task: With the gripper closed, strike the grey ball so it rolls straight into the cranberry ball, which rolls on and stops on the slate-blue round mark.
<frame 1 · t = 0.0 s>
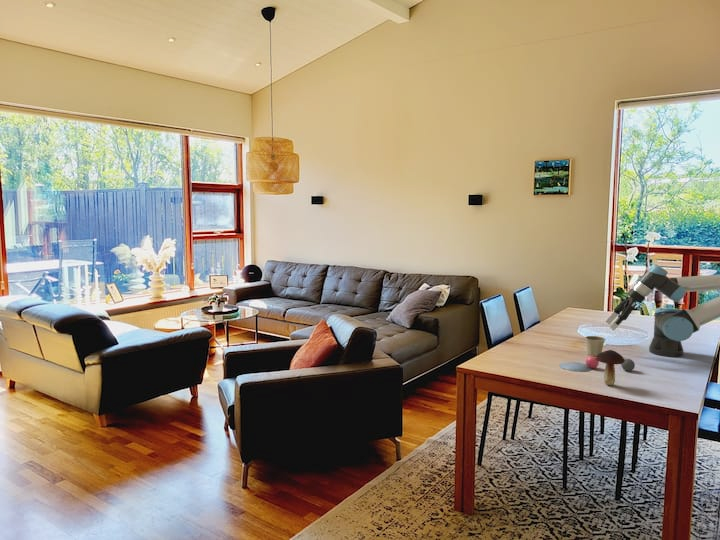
hand: (609, 325, 262), 15 cm above the table, tool tilted 35°, fingers open, 13 cm apart
flower pot: (594, 355, 266), on the table
decorative mushroom: (609, 385, 221), on the table
cranberry ball: (592, 362, 244), on the table
grey ball: (627, 364, 239), on the table
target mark: (575, 367, 246), on the table
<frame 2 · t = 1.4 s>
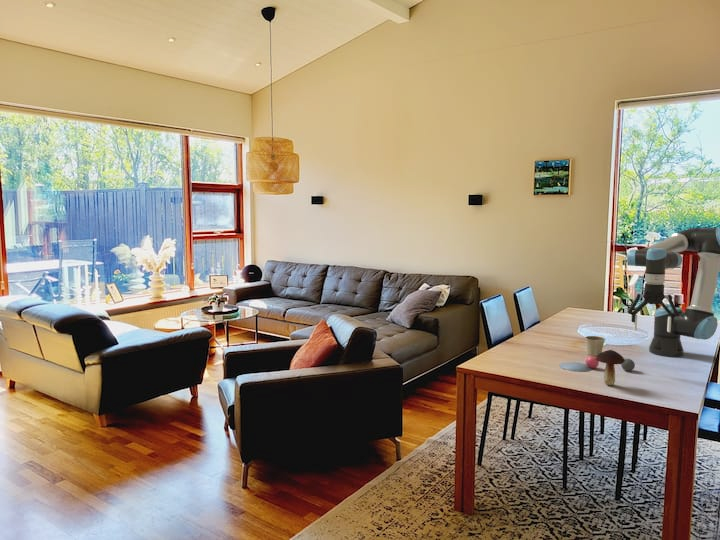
hand: (651, 330, 235), 19 cm above the table, tool pointing down, fingers open, 13 cm apart
nothing on the table moved.
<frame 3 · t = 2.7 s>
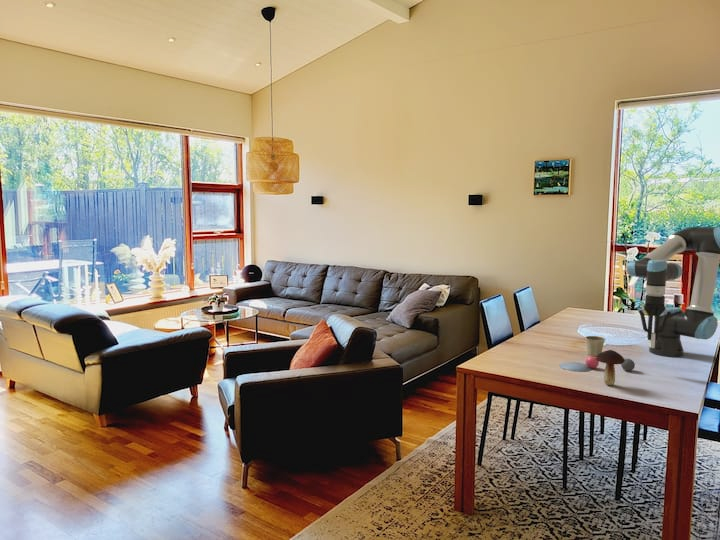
hand: (651, 347, 235), 12 cm above the table, tool pointing down, fingers closed
nothing on the table moved.
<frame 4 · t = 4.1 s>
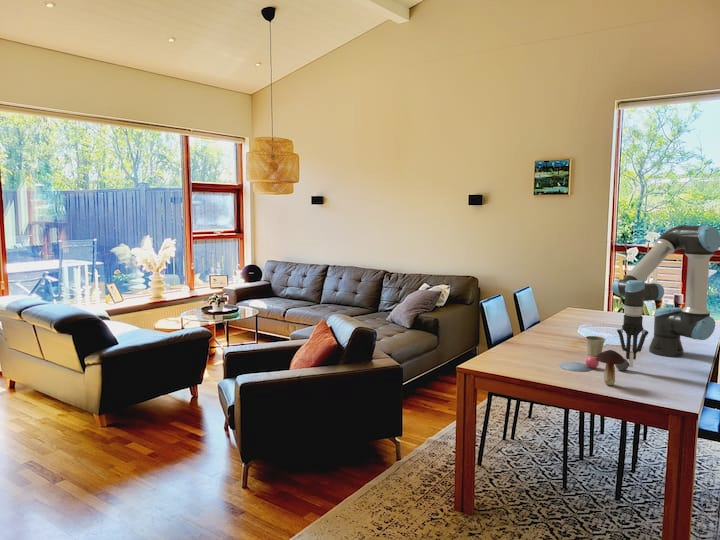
hand: (630, 366, 239), 2 cm above the table, tool pointing down, fingers closed
grey ball: (621, 364, 240), on the table, touching gripper
everything else where it was.
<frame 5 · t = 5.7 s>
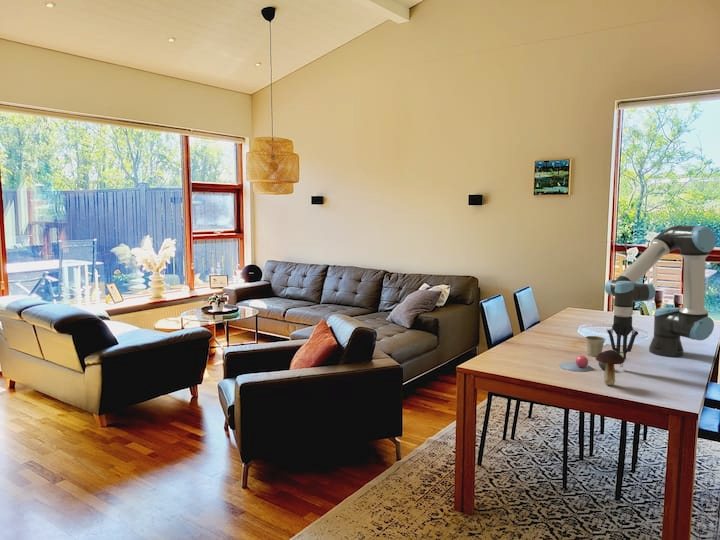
hand: (620, 366, 240), 2 cm above the table, tool pointing down, fingers closed
cranberry ball: (581, 361, 245), on the table
grey ball: (605, 363, 242), on the table
everything else where it was.
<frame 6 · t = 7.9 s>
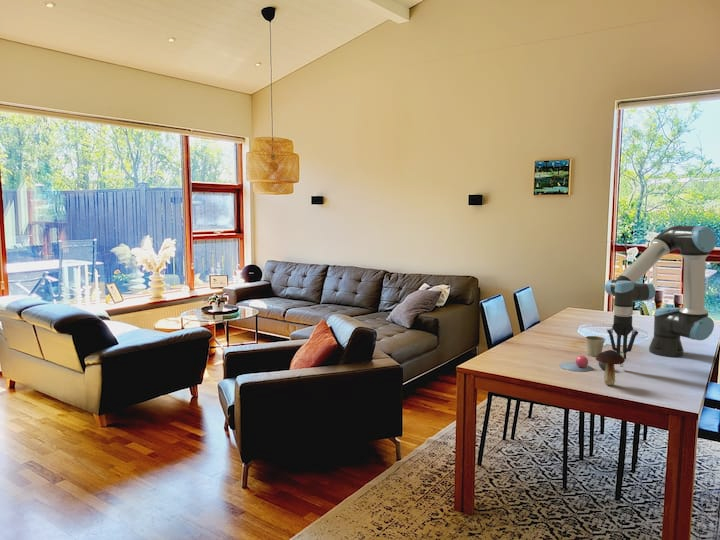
hand: (620, 365, 240), 2 cm above the table, tool pointing down, fingers closed
nothing on the table moved.
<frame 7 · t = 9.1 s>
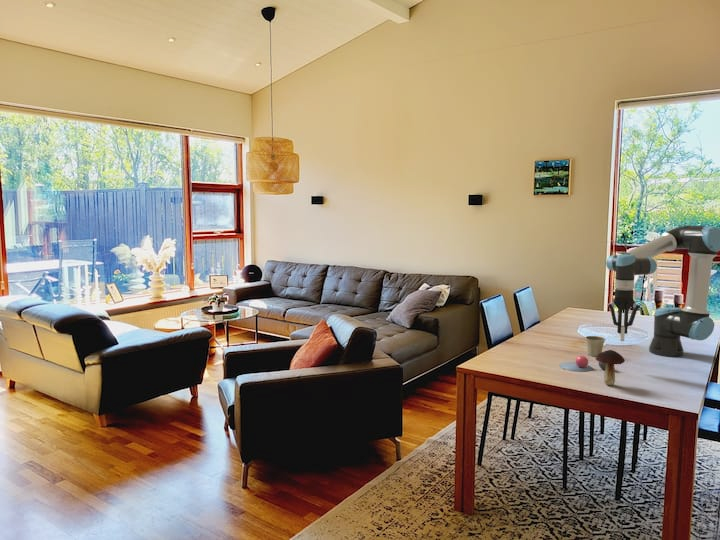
hand: (621, 340, 239), 14 cm above the table, tool pointing down, fingers closed
nothing on the table moved.
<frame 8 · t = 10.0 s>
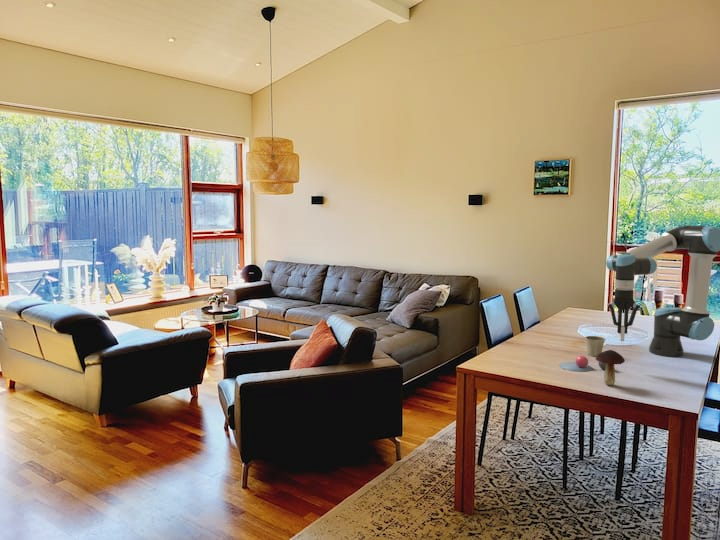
hand: (621, 340, 239), 14 cm above the table, tool pointing down, fingers closed
nothing on the table moved.
at the end: cranberry ball 2.6 cm from the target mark (horizontally); cranberry ball never touched the robot; grey ball first touched cranberry ball at 4.4 s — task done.
